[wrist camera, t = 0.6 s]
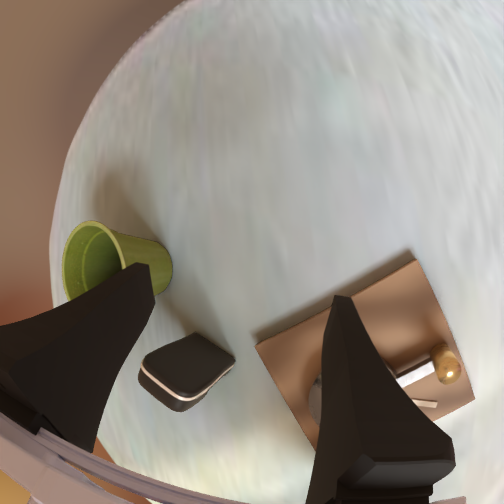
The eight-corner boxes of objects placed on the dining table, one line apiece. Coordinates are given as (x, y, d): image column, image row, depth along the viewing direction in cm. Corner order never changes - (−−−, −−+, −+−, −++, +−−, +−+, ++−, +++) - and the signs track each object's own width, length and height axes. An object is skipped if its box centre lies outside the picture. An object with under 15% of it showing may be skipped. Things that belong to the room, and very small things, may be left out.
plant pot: (159, 205, 41) (96, 197, 31) (204, 281, 39) (145, 296, 28) (110, 255, 45) (50, 260, 34) (147, 325, 43) (88, 345, 32)
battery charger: (184, 351, 41) (127, 382, 30) (194, 329, 40) (136, 356, 29) (227, 381, 38) (178, 423, 28) (239, 359, 38) (190, 399, 27)
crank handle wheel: (334, 441, 32) (326, 467, 27) (296, 375, 33) (283, 395, 28) (463, 384, 26) (474, 406, 22) (432, 307, 28) (442, 319, 23)
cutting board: (472, 393, 27) (475, 399, 26) (325, 456, 34) (322, 463, 32) (415, 258, 30) (417, 259, 28) (258, 342, 37) (253, 347, 35)
